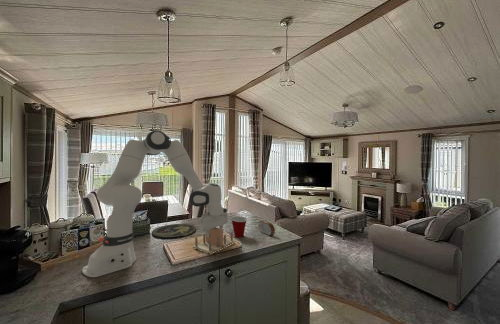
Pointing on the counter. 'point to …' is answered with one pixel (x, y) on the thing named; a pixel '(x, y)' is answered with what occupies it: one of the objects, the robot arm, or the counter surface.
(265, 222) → the tin
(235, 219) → the plastic cup
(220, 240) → the terracotta tile
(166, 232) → the decorative plate
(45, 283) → the counter surface
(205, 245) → the dish rack
